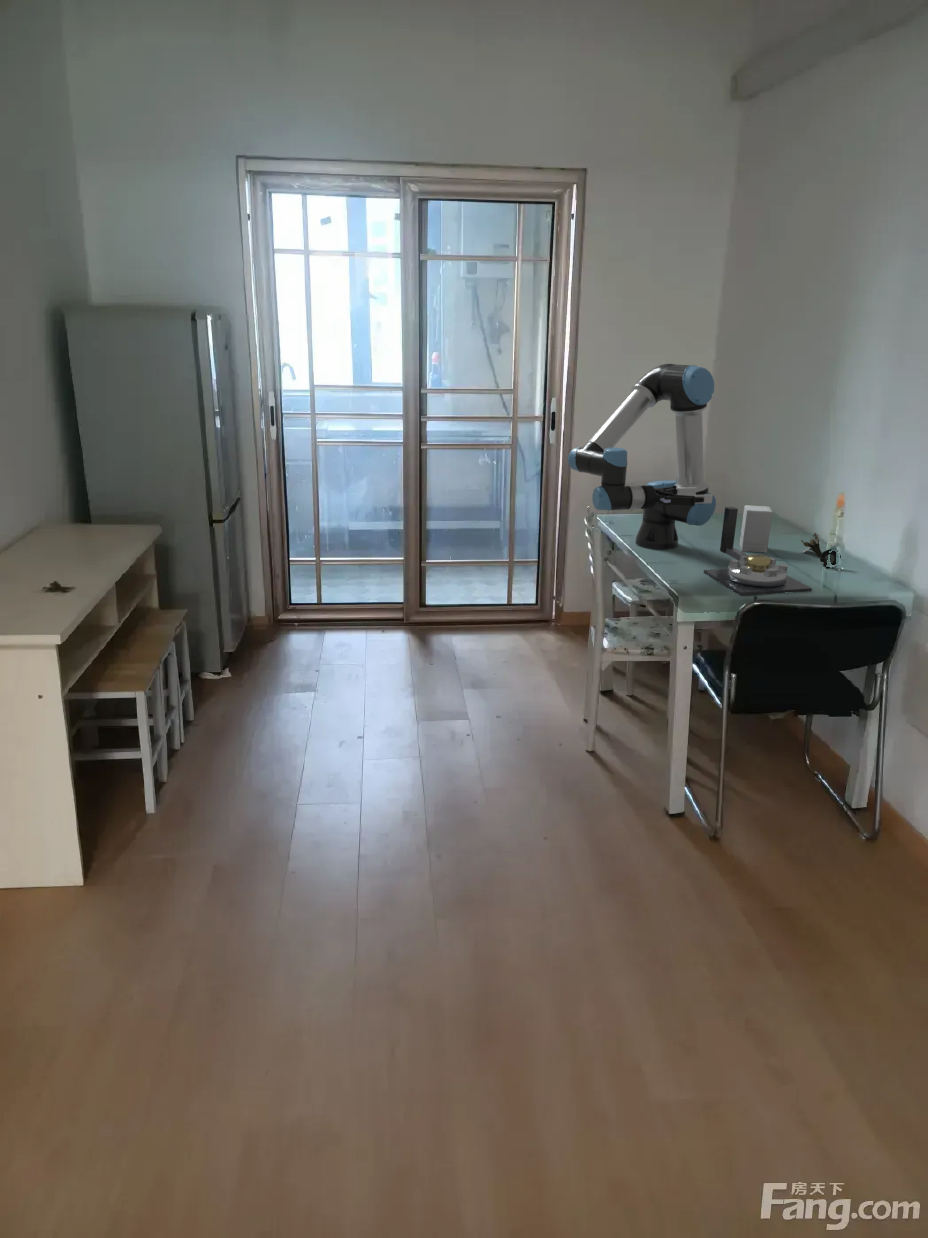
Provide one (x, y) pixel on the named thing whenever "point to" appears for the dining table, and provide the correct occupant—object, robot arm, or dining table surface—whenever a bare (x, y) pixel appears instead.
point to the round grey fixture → (738, 567)
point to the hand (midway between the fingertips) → (703, 495)
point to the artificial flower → (815, 548)
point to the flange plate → (742, 589)
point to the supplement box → (755, 528)
